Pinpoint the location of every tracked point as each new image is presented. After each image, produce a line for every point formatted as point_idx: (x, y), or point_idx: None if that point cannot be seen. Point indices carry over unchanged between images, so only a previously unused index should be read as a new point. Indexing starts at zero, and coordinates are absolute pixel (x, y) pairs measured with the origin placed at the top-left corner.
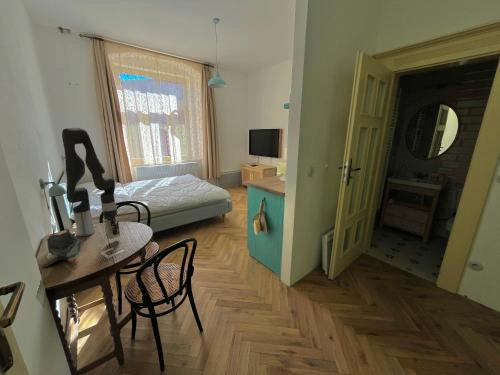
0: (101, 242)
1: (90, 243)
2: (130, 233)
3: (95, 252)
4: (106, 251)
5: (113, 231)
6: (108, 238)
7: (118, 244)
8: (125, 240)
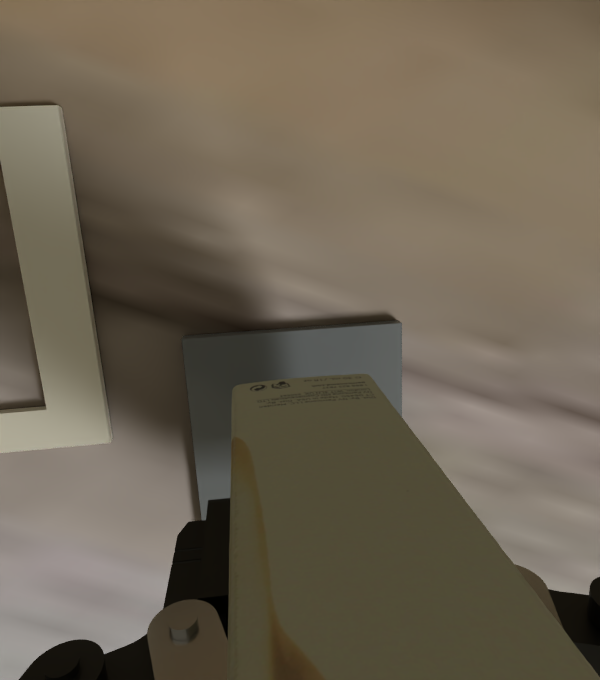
0: (472, 282)
1: (594, 150)
2: None
3: (164, 73)
4: (13, 204)
5: (200, 564)
6: (311, 377)
7: (163, 430)
8: None
